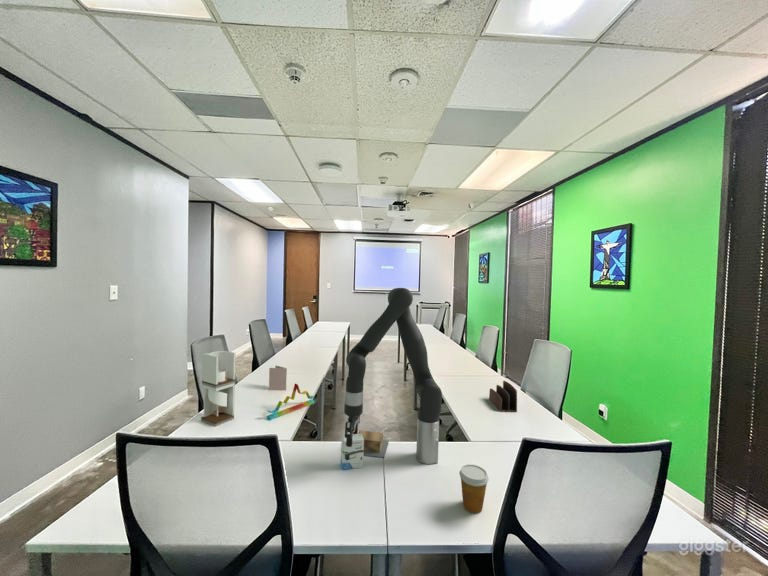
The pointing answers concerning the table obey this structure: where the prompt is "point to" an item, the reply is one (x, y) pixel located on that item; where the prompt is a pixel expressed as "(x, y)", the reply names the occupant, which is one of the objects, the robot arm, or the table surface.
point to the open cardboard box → (372, 441)
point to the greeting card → (277, 378)
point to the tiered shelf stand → (218, 387)
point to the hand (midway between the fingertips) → (352, 441)
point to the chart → (293, 408)
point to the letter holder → (504, 397)
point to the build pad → (379, 455)
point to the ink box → (352, 452)
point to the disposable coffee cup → (473, 487)
